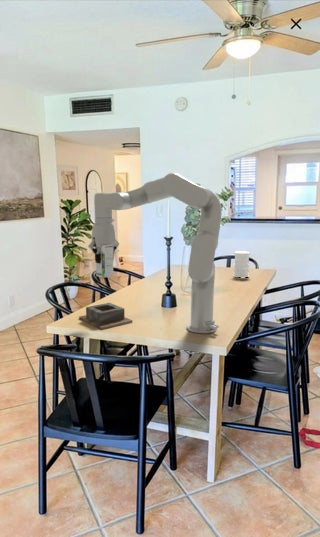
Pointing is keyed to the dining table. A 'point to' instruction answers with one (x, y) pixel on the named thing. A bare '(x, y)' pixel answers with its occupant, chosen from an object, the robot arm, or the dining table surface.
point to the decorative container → (241, 264)
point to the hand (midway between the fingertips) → (104, 261)
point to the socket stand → (105, 316)
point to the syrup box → (105, 262)
